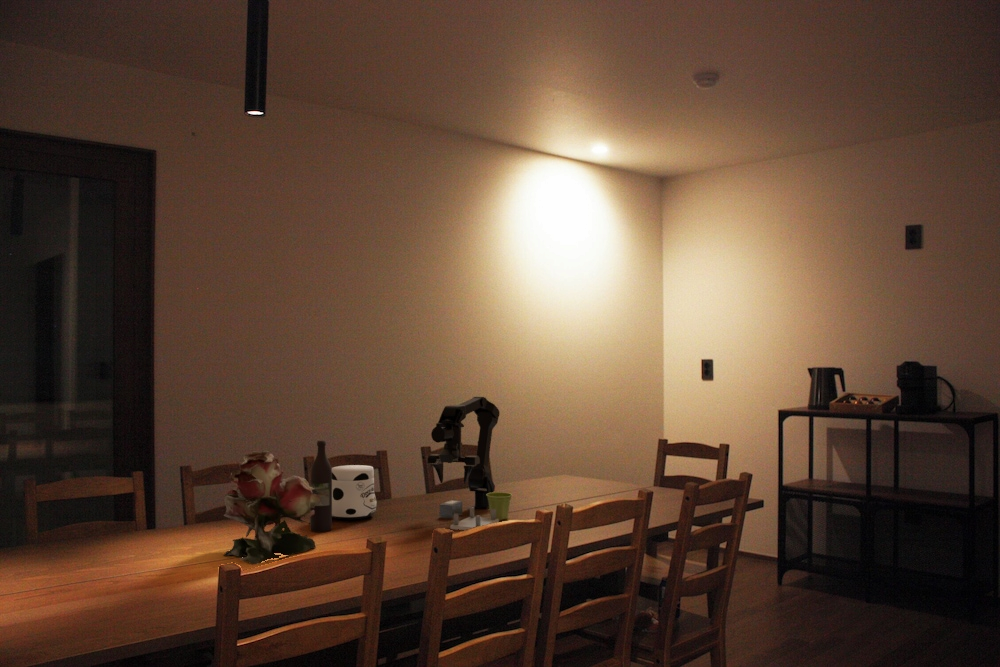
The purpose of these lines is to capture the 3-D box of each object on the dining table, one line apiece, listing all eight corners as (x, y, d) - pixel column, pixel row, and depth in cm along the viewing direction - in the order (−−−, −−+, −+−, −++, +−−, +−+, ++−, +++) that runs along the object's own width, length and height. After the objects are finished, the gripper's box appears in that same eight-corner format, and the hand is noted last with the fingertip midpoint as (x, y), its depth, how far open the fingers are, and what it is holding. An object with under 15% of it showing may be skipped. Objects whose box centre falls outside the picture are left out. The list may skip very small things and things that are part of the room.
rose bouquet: (329, 545, 247) (330, 448, 247) (257, 566, 221) (258, 458, 222) (270, 535, 260) (271, 443, 260) (195, 555, 234) (196, 453, 235)
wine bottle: (305, 531, 266) (306, 441, 267) (319, 527, 272) (320, 439, 273) (322, 533, 263) (322, 442, 264) (336, 529, 269) (336, 440, 270)
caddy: (470, 519, 284) (470, 506, 284) (498, 522, 279) (498, 508, 280) (450, 528, 269) (450, 514, 269) (480, 531, 265) (480, 517, 265)
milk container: (381, 520, 284) (381, 469, 284) (332, 524, 277) (332, 472, 278) (370, 511, 300) (370, 463, 300) (324, 515, 293) (324, 466, 294)
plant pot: (513, 516, 290) (513, 492, 290) (511, 521, 281) (511, 496, 281) (487, 515, 291) (487, 492, 291) (484, 521, 282) (484, 496, 282)
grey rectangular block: (450, 513, 296) (450, 499, 296) (462, 514, 294) (462, 500, 294) (439, 518, 288) (439, 504, 288) (452, 519, 286) (452, 505, 286)
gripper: (420, 441, 285) (420, 485, 285) (469, 443, 279) (469, 487, 279) (433, 438, 296) (432, 481, 295) (480, 440, 290) (480, 483, 289)
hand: (453, 483), depth 289 cm, fingers open, 9 cm apart
